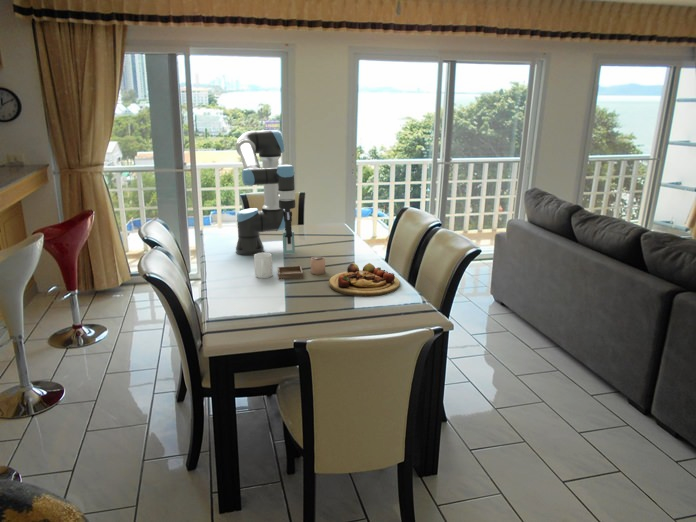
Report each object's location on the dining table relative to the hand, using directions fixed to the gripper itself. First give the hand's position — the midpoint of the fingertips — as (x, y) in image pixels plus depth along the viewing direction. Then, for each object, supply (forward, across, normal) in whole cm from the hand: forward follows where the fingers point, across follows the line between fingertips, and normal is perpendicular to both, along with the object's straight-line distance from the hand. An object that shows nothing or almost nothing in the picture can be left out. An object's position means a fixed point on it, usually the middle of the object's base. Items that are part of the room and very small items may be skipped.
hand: (289, 248), depth 248 cm
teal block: (+2, 0, 0) cm, 2 cm away
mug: (+13, 0, -12) cm, 18 cm away
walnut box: (+13, 0, 0) cm, 13 cm away
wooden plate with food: (+14, +20, +32) cm, 40 cm away
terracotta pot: (+13, -2, +14) cm, 19 cm away
